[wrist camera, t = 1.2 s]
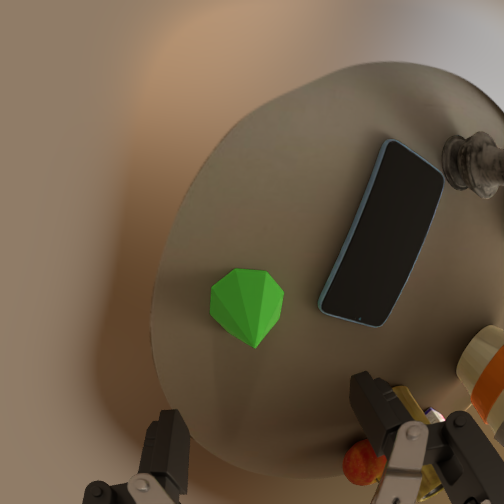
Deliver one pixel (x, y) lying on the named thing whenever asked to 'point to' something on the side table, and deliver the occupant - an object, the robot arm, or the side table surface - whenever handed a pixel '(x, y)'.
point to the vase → (429, 477)
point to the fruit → (363, 464)
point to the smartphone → (383, 237)
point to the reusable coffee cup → (485, 377)
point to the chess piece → (474, 164)
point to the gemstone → (246, 304)
